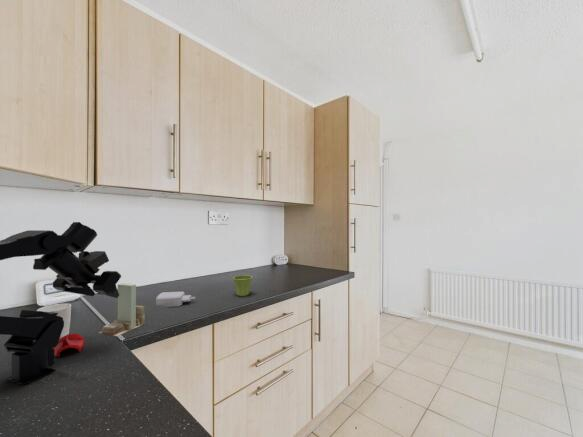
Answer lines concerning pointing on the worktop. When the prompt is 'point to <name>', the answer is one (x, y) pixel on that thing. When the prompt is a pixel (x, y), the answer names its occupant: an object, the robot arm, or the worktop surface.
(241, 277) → the plant pot
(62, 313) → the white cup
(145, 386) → the worktop surface
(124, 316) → the grey-green flat block
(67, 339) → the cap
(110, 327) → the offcut top
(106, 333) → the offcut bottom
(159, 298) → the white dispenser bottle
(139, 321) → the offcut rack
